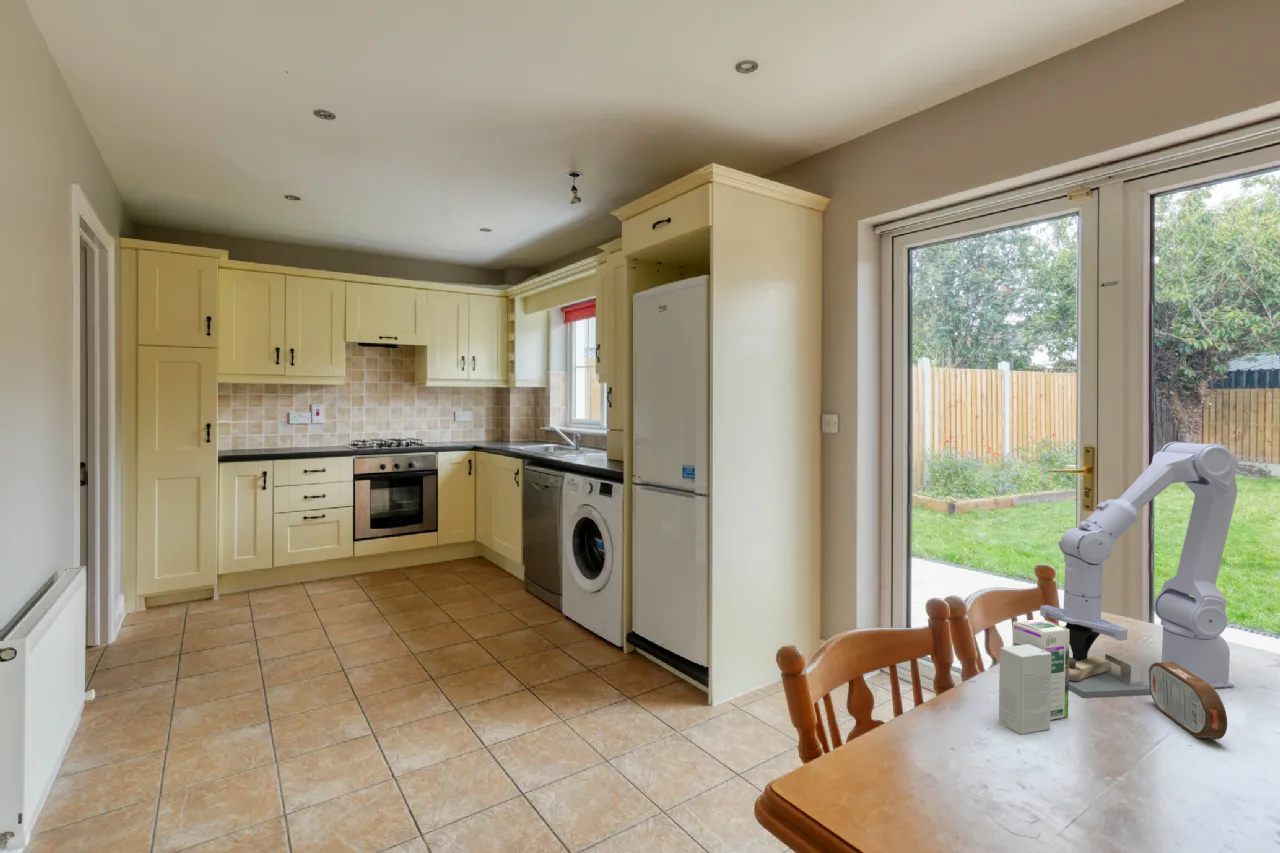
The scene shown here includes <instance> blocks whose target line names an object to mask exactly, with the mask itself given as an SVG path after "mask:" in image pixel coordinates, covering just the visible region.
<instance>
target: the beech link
mask: <svg viewBox="0 0 1280 853" xmlns="http://www.w3.org/2000/svg"><path fill="white" fill-rule="evenodd" d="M1112 665H1113V663H1112V662H1110V661H1108V660H1106V659H1105V657H1103V656H1101V655H1094V656H1092V657H1091V656H1090V657H1087V659H1084V660H1080V661H1077V662H1076V659H1074V658H1073V657H1070V656H1069V680H1072V681H1080V680H1081V679H1083V678H1086V677H1089V676H1093V675H1096V674H1099V673H1102V672H1105V671H1109V670H1111V668H1112Z"/></svg>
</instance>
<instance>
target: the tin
mask: <svg viewBox="0 0 1280 853" xmlns="http://www.w3.org/2000/svg"><path fill="white" fill-rule="evenodd" d="M1148 681H1149V684H1148V685H1149V686H1150V693H1151V698H1152V700H1153V702H1154V705H1156V706H1157V709H1159V710H1160V711H1161V712H1162V713H1163V714H1164V715H1166V716H1167V717H1169V718H1170V719H1171V720H1172V721H1173V722H1174V723H1176V724H1177V725H1178V726H1180V727H1181V728H1182V729H1184V730H1185V731H1186V732H1188V733H1189V734H1190V735H1192V736H1194V737H1196V738H1201V739H1213V740H1220V739H1223V738H1224V737H1225V735H1226V733H1227V730H1228V716H1227V711H1226V708H1225V706H1224V705H1225V704H1224V703H1223V700H1222V698H1221V697H1220V694H1219V693H1218V691H1217V690H1216V689H1215V688H1213V687H1212V686H1211V685H1210V684H1209V683H1207V682H1206V681H1204V680H1203V679H1201V678H1199V677H1198V676H1196V675H1195V674H1193V673H1191V672H1190V671H1188V670H1187V669H1185V668H1183V667H1182V666H1180V665H1179V664H1177V663H1174V662H1169V663H1162V662H1154V663H1153V664H1151V665H1150V667H1149V668H1148Z"/></svg>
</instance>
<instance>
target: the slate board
mask: <svg viewBox="0 0 1280 853" xmlns="http://www.w3.org/2000/svg"><path fill="white" fill-rule="evenodd" d="M1120 675H1121V671H1118V670H1116V669H1114V668H1112V667H1111V670H1109V671H1105V672H1102V673H1099V674H1096V675H1093V676H1089V677H1086V678H1083V679H1081V680H1080V681H1072V680H1069V687H1068V691H1071V692H1072V693H1074V694H1076V695H1078V696H1080V697H1082V698H1085V699H1086V698H1087V699H1088V698H1105V697H1124V696H1126V697H1127V696H1129V697H1130V696H1144V695H1145V696H1147V695H1148V696H1149V695H1151V693H1150V685H1149V684H1146V683H1144V682H1141V683H1140V686H1129V685H1127V684H1125V683H1123V682H1121V681H1120Z"/></svg>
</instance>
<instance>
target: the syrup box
mask: <svg viewBox="0 0 1280 853" xmlns="http://www.w3.org/2000/svg"><path fill="white" fill-rule="evenodd" d="M1025 644H1030V645H1032V646H1035V647H1037V648H1040V649H1042V650H1045V651H1047V652H1049V653H1051V654H1052V662H1051V663H1052V664H1051V712H1050V721H1051V720H1052V721H1053V720H1056V719H1062V718H1065V719H1066V718H1068V717H1069V689H1068V687H1069V657H1070V644H1069V629H1068V628H1066V627H1064V626H1063V625H1060V624H1059V623H1055V622H1053V621H1049V620H1045V619H1041V618H1035V619H1031V620H1030V619H1028V620H1020V621H1013V622H1012V645H1011V646H1018V645H1025Z"/></svg>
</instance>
